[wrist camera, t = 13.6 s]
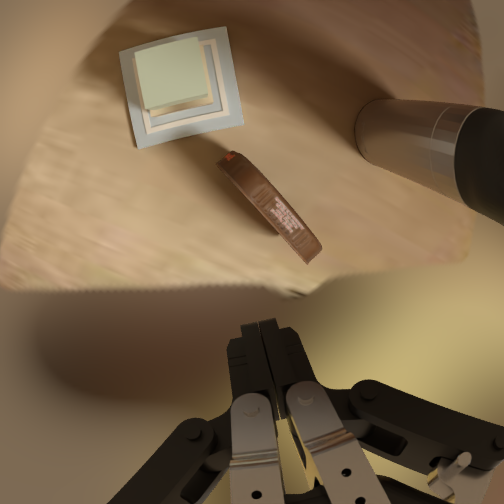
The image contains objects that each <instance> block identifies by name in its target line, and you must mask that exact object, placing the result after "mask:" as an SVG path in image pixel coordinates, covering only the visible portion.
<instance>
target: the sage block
mask: <svg viewBox="0 0 504 504" xmlns="http://www.w3.org/2000/svg"><path fill="white" fill-rule="evenodd" d="M135 59H136V65H137V70H138V76H139V81H140V86H141V91H142V96H143V101H144V106H145V109H148V110H158V109H161V108H165V107H169V106H173V105H177V104H181V103H185V102H189V101H193V100H198V99H203V98H207V97H208V89H207V84H206V79H205V74H204V68H203V63H202V58H201V53H200V48H199V42H198V37H192V38H187V39H183V40H178V41H174V42H170V43H166V44H162V45H159V46H155V47H151V48H148V49H144V50H141V51H138V52H135Z"/></svg>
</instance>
